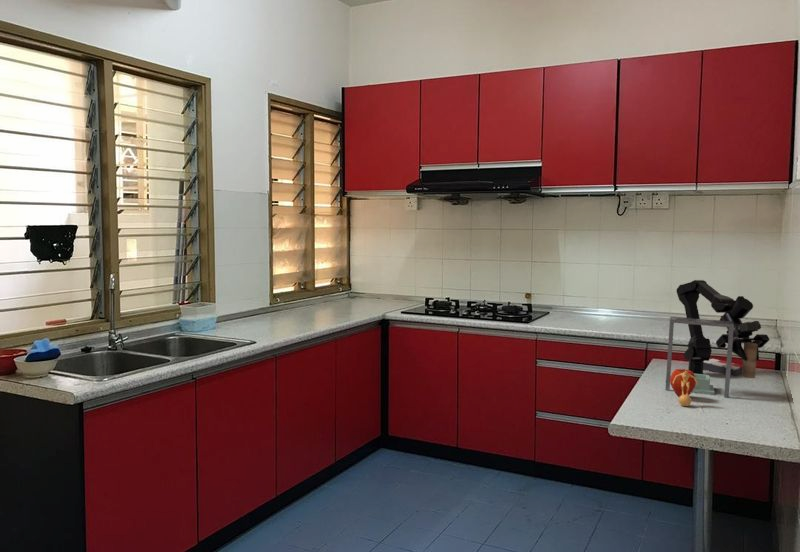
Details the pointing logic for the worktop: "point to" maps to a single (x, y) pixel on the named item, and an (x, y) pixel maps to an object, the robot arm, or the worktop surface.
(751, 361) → the peg
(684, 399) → the figurine
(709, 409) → the worktop surface
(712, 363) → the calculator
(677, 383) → the apple
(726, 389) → the grey table frame
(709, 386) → the socket block
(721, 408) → the worktop surface
